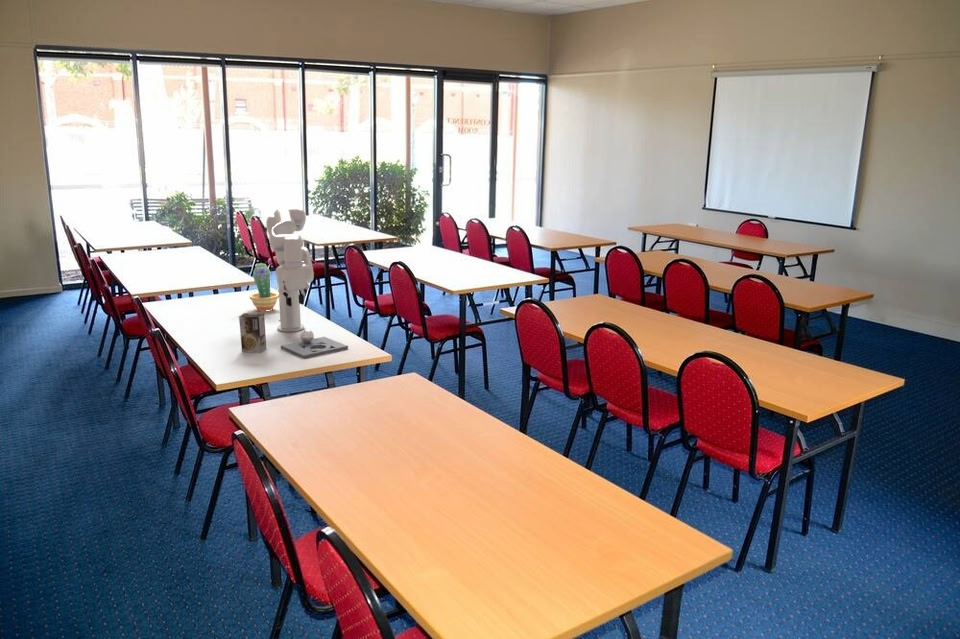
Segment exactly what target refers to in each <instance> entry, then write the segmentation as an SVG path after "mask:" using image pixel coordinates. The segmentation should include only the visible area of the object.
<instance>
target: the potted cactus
mask: <svg viewBox="0 0 960 639" xmlns="http://www.w3.org/2000/svg"><path fill="white" fill-rule="evenodd" d="M253 281H254V283H255V285H256V287H257V290H258V292H256V293H250V295H248V298H249V300H251V302H252V305H254V307H255V308H256V309H257V310H260V311H266V310H271V309H273V308H274V307H275V305H276V304H277V301H278V299H279V292H273V291H272V292H271V286H270V283H271V270H270V268H269V267H268V265H267V264H266V263H257V264H256V265H255V267H254V269H253ZM257 310H256V311H257Z"/></svg>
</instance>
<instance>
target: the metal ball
mask: <svg viewBox="0 0 960 639" xmlns="http://www.w3.org/2000/svg"><path fill="white" fill-rule="evenodd" d="M314 337H315V335H314V332H313V331H312V330H310V329H303V330H301V332H300V334H299V339H300V341H303V342H304V343H310V342H311V341H312V340H313V339H315V338H314Z"/></svg>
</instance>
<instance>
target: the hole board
mask: <svg viewBox="0 0 960 639" xmlns="http://www.w3.org/2000/svg"><path fill="white" fill-rule="evenodd" d="M280 350H283V351H286V352H288V353H290V354H291V355H294V356H296V357H299V358H301V359H303V360H305V359H311V358H315V357H319V356H325V355H328V354H332V353H337V352H341V351H347V350H349V345H348V344H344V343H341V342H339V341H337V340H334V339H331V338H329V337H326V336H321V337H316V338H313V340H312V341H311V342H310V343H304V342H303V341H302V340H299V341H295V342H290V343H286V344H282V345H280Z"/></svg>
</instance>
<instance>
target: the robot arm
mask: <svg viewBox="0 0 960 639" xmlns="http://www.w3.org/2000/svg"><path fill="white" fill-rule="evenodd" d="M303 209H304V208H302V207H299V206H298V207H295V206H294V207H293V206H291V207H280V208H277V209H276V210H275V211H274V214H273V215H269V216H268V217H267V219H266V223H265V224H266V225H265V226H266V229H267V233H268V238H269V244H270V248H271V250H272V251H274V252H275V259H276V262H277V264H278V265H279V266H277V267H276V269H275V278H276V282H277V288H278V294H279V298H278V302H279V319H278V322H280V325H278V326H277V330H278V331H279V332H284V333H285V332H286V333H291V332H292V333H293V332H299V331H303V330H305V325H304V324H302V323H301V321H302V320H301V319H302V318H301V306H300V305H304V302H305V295H306V293H307V292H308V290H309V289H310V288H311V285H309V283H312V282H313V280H314V277H315V276H314V275H315V272H314V268H313V261H312V258H311V252H310V250H309V249H308V248H307V247H306V246H304V238H303V237H302V236H301V235H299V234H294V233H295V232H300V231H302V230H303V229H304V226H305V224H306V220H307V219H306V213H305V210H303Z"/></svg>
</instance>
